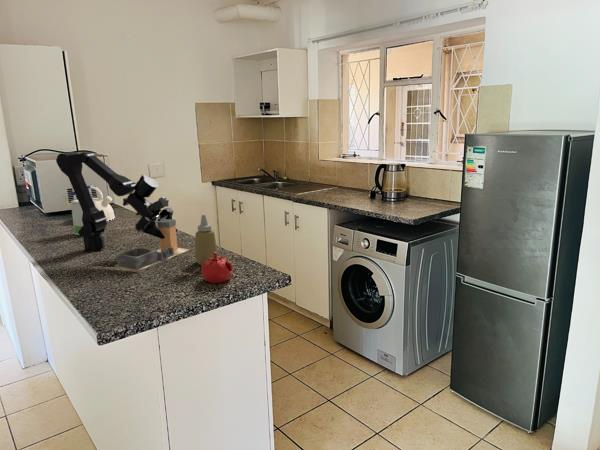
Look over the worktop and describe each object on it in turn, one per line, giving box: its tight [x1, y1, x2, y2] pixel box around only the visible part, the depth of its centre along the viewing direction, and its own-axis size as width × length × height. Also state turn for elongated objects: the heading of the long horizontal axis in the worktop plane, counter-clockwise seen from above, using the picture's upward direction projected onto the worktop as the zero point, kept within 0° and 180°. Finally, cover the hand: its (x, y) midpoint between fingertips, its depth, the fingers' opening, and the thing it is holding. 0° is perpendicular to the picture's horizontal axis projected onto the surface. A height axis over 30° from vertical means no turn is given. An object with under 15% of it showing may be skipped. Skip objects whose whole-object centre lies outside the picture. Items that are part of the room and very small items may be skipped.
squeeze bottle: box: [194, 214, 219, 268], centre depth 157 cm, size 8×8×18 cm
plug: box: [156, 218, 179, 252], centre depth 171 cm, size 5×5×12 cm
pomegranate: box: [200, 252, 234, 284], centre depth 143 cm, size 10×10×9 cm
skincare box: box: [70, 199, 95, 236], centre depth 205 cm, size 8×7×16 cm
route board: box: [114, 247, 191, 274], centre depth 165 cm, size 26×12×5 cm, turn 154°
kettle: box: [70, 185, 116, 222], centre depth 233 cm, size 20×21×18 cm
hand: (170, 235), depth 171 cm, fingers open, 9 cm apart
